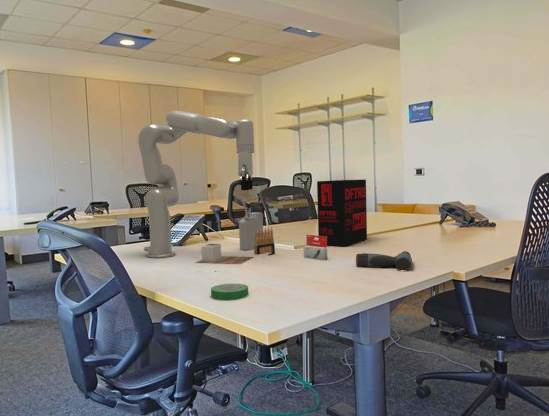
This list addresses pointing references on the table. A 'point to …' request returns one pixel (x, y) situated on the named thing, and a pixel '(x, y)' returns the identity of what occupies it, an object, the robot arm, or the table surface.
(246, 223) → the fuel canister
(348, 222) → the product box
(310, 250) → the ink cartridge box
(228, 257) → the board
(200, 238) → the table surface
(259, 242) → the ammunition clip
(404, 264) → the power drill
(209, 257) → the grey block
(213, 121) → the robot arm
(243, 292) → the tape roll
